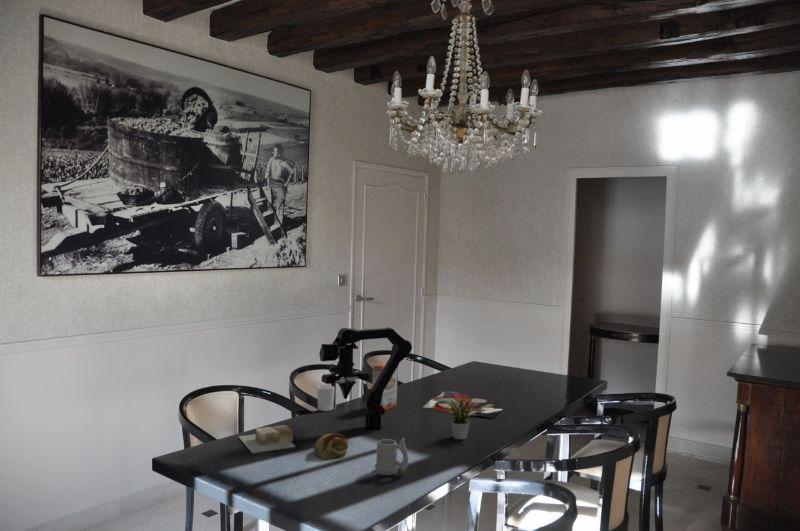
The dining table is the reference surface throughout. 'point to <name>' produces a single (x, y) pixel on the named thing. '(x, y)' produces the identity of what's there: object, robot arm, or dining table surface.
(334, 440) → the pastry
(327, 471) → the dining table surface
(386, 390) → the cracker box
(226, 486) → the dining table surface
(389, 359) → the robot arm
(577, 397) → the dining table surface
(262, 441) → the tan rounded block
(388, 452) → the mug
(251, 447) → the mat
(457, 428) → the house plant
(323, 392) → the white cup
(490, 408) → the multicolor patterned cloth
